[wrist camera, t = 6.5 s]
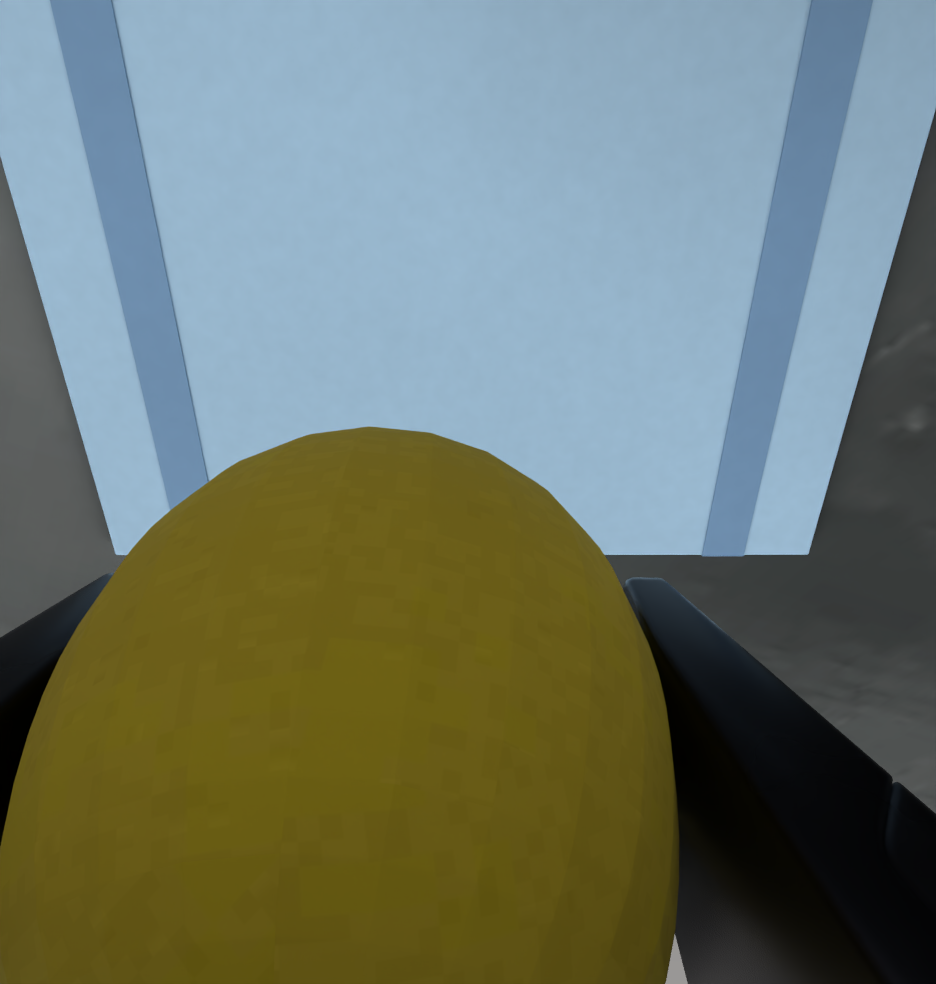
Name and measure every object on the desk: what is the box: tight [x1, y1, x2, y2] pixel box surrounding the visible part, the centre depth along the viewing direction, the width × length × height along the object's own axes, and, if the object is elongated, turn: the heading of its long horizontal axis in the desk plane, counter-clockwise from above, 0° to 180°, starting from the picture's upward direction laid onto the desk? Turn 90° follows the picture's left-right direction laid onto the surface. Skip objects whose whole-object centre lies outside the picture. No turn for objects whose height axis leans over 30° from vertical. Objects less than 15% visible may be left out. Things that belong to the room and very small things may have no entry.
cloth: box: [0, 0, 936, 556], centre depth 18 cm, size 20×14×1 cm
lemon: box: [0, 426, 679, 984], centre depth 7 cm, size 6×6×8 cm
